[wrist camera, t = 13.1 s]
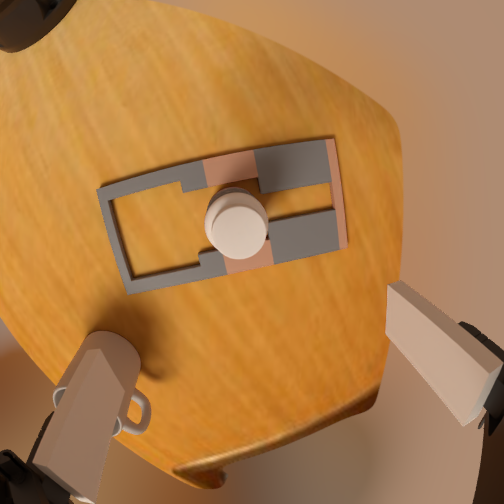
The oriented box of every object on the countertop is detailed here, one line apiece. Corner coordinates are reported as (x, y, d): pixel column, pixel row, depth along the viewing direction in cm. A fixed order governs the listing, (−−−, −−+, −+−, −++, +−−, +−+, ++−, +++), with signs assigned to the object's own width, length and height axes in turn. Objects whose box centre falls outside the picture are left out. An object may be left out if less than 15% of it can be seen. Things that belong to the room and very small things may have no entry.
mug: (74, 351, 32) (42, 403, 21) (102, 317, 31) (67, 373, 20) (139, 400, 35) (125, 458, 25) (174, 375, 34) (165, 439, 24)
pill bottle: (197, 203, 28) (188, 219, 20) (243, 177, 28) (252, 182, 19) (224, 246, 30) (225, 279, 21) (267, 221, 29) (287, 245, 21)
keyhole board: (99, 188, 26) (96, 189, 25) (331, 139, 27) (333, 138, 27) (129, 291, 30) (127, 294, 29) (344, 245, 31) (347, 247, 30)
